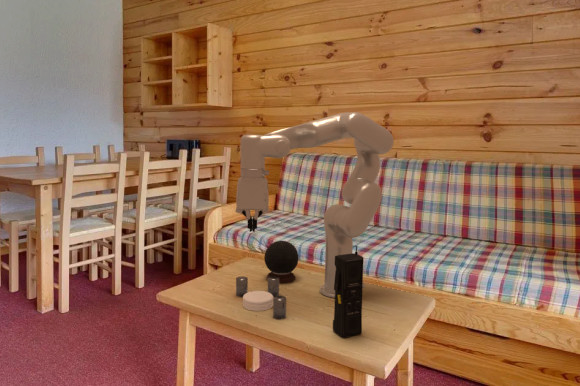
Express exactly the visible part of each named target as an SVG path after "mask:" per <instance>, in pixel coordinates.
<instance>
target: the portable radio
mask: <svg viewBox="0 0 580 386" xmlns="http://www.w3.org/2000/svg"><path fill="white" fill-rule="evenodd" d="M335 267H336V271H335V282H334V290H335V298H334V307H333V308H334V309H333V311H334V314H333V319H332V330H333V332H334V333H335V334H336V335H338V336H339V337H340V338H343V339H344V338H348V337H352V336H356V335H361V334H362V332H363V331H362V330H363V326H362V325H363V321H362V320H363V319H362V316H363V288H362V286H363V283H364V280H363V277H364V256H362V255H360V254H359V253H358V246H357V245H355V252H354V253H353V252H352V253H351V254H344V255H337V256H335Z"/></svg>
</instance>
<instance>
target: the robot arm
mask: <svg viewBox="0 0 580 386" xmlns="http://www.w3.org/2000/svg"><path fill="white" fill-rule="evenodd" d="M348 138H349V139H353V144H354V148H355V150H356V156H357V157H356V163H355V166H354V168H353V170H352V172H351V173H350V175H349V177H348V179H347V181H345V184H344V185H343V187H342V190H341V198H342V199H343V201H345V203H347V204H350V206H346V205H344V204H338V203H337V204H333V205H330V206H329V207H328V208H327V209H326V210H325V212H324V216H323V225H324V234H325V254H324V255H325V259H324V260H325V262H324V284H322V285H321V286H320V287H319V292H320V293H321V294H322V295H324V296H325V297H328V298H332V299H335V290H334V282H335V271H336V267H335V256H337V255H344V254H351V253H353V251H354V249H353V247H354V246H353V245H354V243H353V239H355V238H358V237H361V236H362V235H363V234H364V233H365V232H366V230H367V229H368V228H369V225H370V224H371V222H372V220H373V219H374V216H375V214H376V212H377V211H378V209H379V208H380V205H381V202H382V200H383V199H382V198H383V197H382V196H383V194H382V189H381V186H380V185H379V184H378V183H376V182H375V181H376V180H377V178H378V175H379V174H380V169H381V160H380V159H381V158H380V155H384V154H387V153H389V152H390V151H391V150H392V148H393V147H394V137H393V135H392V133H391V132H390V131H389V130H388V129H387V128H386V127H384V126H382V125H380V124H379V123H377V122H376V121H375V120H373V119H371V118H369V116H367V115H365V114H363V113H360V112H357V111H356V112H355V111H353V112H351V111H350V112H340V113H336V114H333V115H329V116H327V117H323V118H319V119H315V120H311V121H308V122H305V123H301V124H298V125H297V124H296V125H294V126H290V127H287V128H286V127H285V128H282V129H277V130H275V131H271V132H268V133H265V134H263V135H261V134H243V135H242V136H241V137H240V177H238V178H237V186H236V187H237V188H236V197H235V199H236V201H235V202H236V203H235V205H236V207H235V213H236V214H241V215H243V216H244V217H245V218H246V220H247V229H249V232H251V233H252V232H254V233H255V232H256V230H257V229H258V219H259V218H260V217H261V216H262V215H264V214H269V213H270V209H269V200H270V199H269V184H268V183H269V182H268V179H267V177H266V176H269V175H270V170H268V169H266V168H265V162H266V161H265V160H266V158H273V159H282V158H285V157H286V156H288V155H289V154H290V152H291V150H294V149H295V150H296V149H310V148H317V147H321V146H324V145H327V144H330V143H333V142H336V141H337V142H338V141H340V140H344V139H348ZM251 211H254V215H253V216H252V214H251ZM365 288H366V286H365V282H363V286H362V289H365Z"/></svg>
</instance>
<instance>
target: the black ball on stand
mask: <svg viewBox="0 0 580 386" xmlns="http://www.w3.org/2000/svg"><path fill="white" fill-rule="evenodd" d="M299 259H300V258H299V252H298V250H297V248H296V247H295V246H294V244H292V243H291V242H290V241H287V240H276V241H273V242H272V243H270V245H268V247H267V248H266V250H265V252H264V264H265V266H266V268H267V269H268V271H269V272H268V274H267V275H266V281H268V278H269V277H278V278H279V285H280V284H281V285H284V284H286V285H287V284H290V283H293V282H295V281H296V279H297V277H296V275H295V273H293V271H294V270H295V269H296V268H297V266H298V263H299Z"/></svg>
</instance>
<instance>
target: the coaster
mask: <svg viewBox="0 0 580 386" xmlns="http://www.w3.org/2000/svg"><path fill="white" fill-rule="evenodd" d="M273 298H274V297H273V295H272V294H271V293H269V292H268V291H267V290H266V291H264V290H250V291H248V293H246V294H245V295H244V296H243V297H242V305H243V308H244V309H245V310H248V311H250V312H251V311H252V312H263V311H268V310H270V309H272V308H273Z"/></svg>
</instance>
